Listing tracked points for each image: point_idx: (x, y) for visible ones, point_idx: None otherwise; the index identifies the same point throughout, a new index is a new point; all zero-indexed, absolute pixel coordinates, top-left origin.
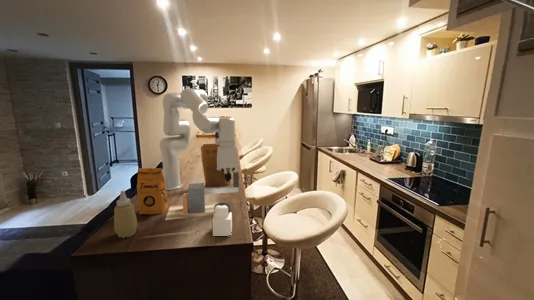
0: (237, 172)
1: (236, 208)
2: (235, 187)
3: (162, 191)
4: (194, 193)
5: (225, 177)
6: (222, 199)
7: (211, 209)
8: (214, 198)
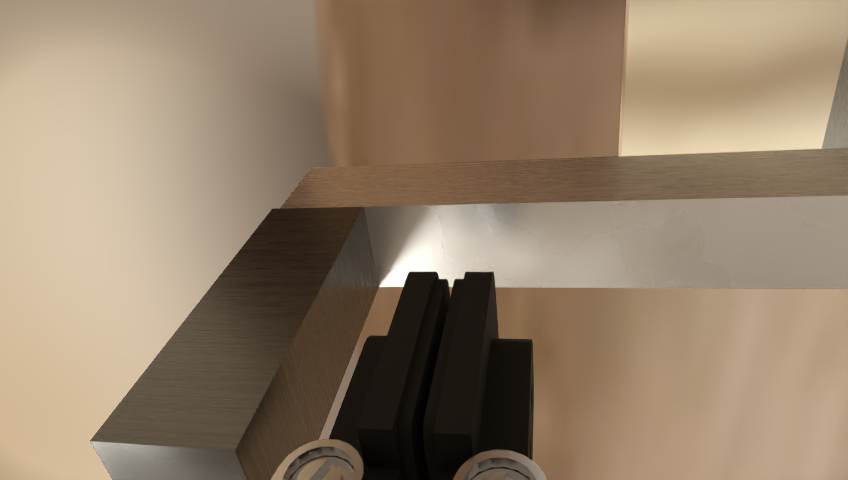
0: (136, 477)
1: (410, 91)
2: (335, 207)
3: None
4: None
5: (520, 378)
6: (561, 351)
7: (744, 56)
8: (645, 391)
